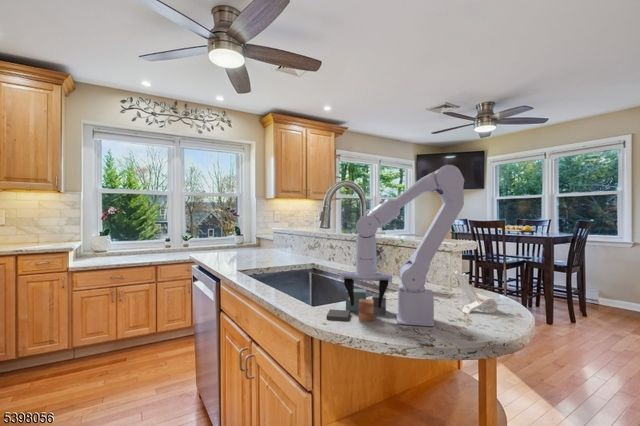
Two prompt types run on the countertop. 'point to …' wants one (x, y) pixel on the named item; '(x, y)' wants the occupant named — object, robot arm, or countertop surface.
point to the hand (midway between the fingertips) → (365, 305)
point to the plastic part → (475, 297)
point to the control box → (355, 299)
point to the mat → (338, 315)
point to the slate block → (383, 304)
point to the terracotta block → (366, 310)
